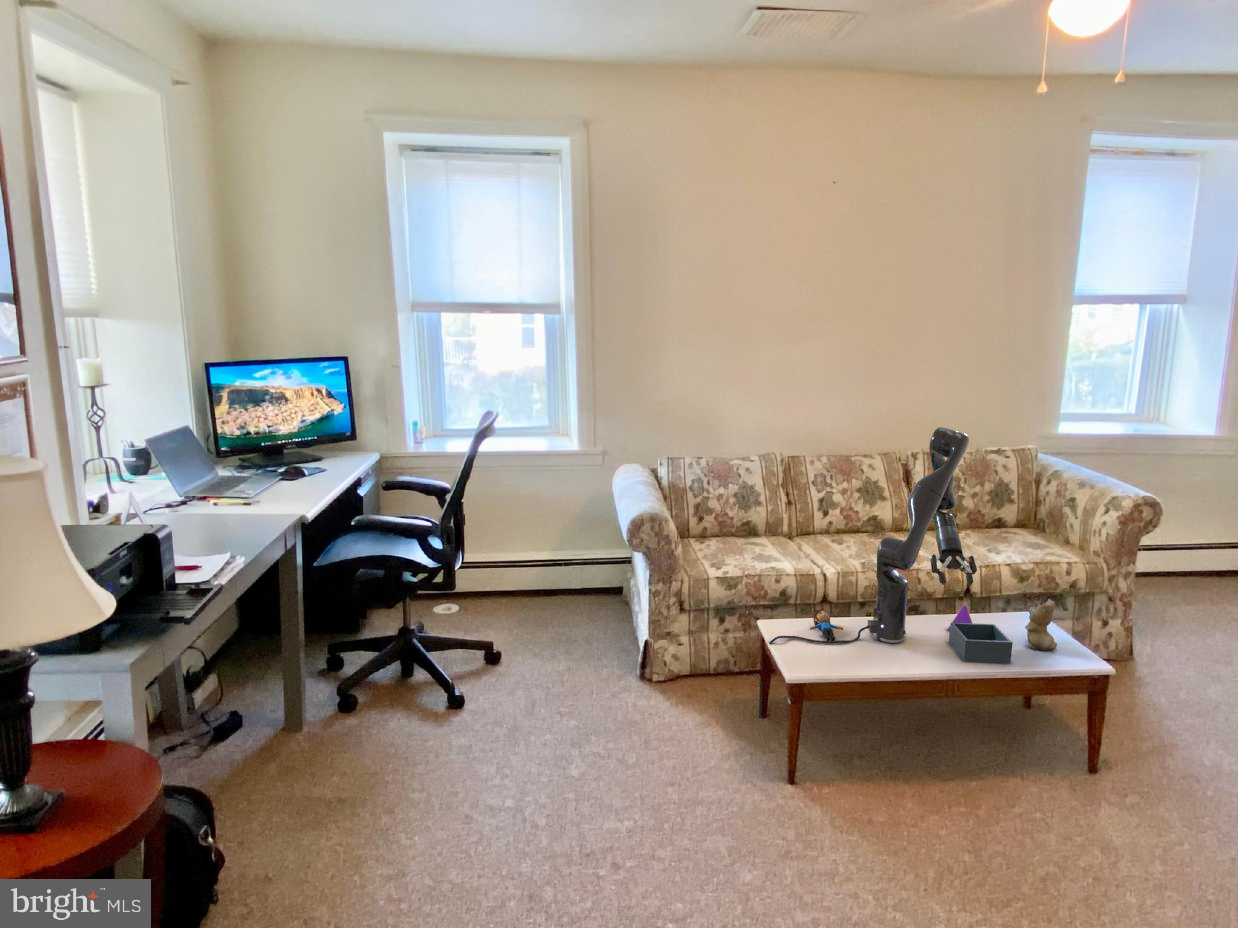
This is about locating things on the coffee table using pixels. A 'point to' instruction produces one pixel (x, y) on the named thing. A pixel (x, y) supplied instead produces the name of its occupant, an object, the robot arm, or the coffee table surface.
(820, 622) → the toy
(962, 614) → the arrowhead
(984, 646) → the bin
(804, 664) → the coffee table surface
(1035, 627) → the figurine
